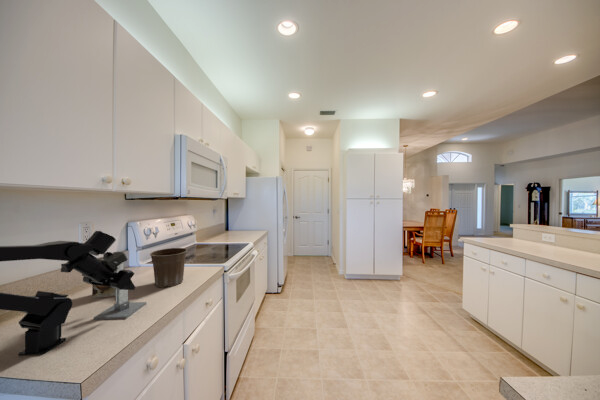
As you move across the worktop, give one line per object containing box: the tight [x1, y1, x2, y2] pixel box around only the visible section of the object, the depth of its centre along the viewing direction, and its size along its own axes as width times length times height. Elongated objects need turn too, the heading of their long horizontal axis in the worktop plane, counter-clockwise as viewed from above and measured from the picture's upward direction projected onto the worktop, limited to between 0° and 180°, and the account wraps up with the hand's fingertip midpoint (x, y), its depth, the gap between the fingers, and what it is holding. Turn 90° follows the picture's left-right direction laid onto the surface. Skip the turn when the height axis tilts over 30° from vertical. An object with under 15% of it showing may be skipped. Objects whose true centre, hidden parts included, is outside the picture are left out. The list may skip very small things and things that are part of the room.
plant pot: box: [149, 247, 188, 288], centre depth 111 cm, size 16×16×16 cm
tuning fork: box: [113, 289, 130, 312], centre depth 83 cm, size 3×3×12 cm
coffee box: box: [91, 256, 125, 299], centre depth 98 cm, size 9×6×16 cm
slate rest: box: [93, 301, 147, 321], centre depth 83 cm, size 11×11×1 cm
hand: (125, 287), depth 84 cm, fingers open, 9 cm apart
